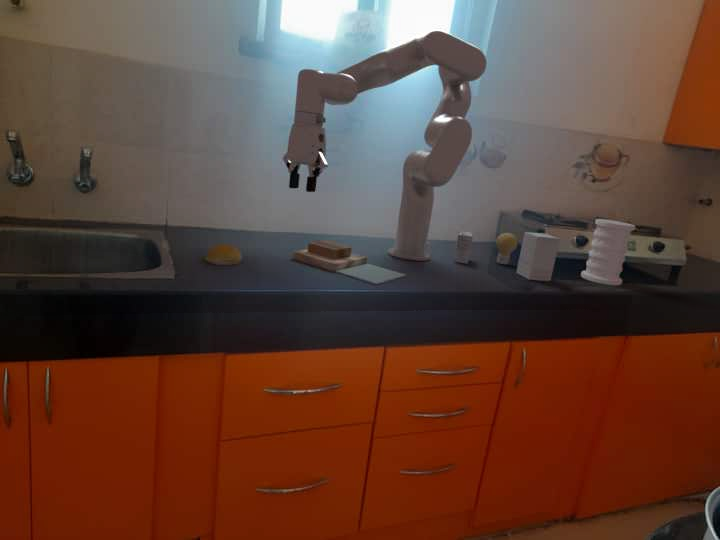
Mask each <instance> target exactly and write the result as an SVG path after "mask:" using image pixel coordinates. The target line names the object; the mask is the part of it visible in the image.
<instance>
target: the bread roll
mask: <svg viewBox="0 0 720 540" xmlns="http://www.w3.org/2000/svg"><path fill="white" fill-rule="evenodd" d="M204 258H205V261H206V262H207V263H209V264H213V265H217V266H233V265H235V266H236V265H238V264H240V263H241V262H242V259H243V254H242V253H241V251H240V250H239V249H238V248H237V247H235V246H234V245H232V244H228V243H220V244H217V245H215V246H213V247H212V248H211V249H209V250H208V251H207V252H206V254H205V255H204Z"/></svg>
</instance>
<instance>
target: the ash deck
mask: <svg viewBox="0 0 720 540" xmlns="http://www.w3.org/2000/svg"><path fill="white" fill-rule="evenodd" d="M367 259H368V257H366V256H363V255H360V254H355V253H352V252H351V256H350V257H345V258H340V259H335V260H334V259H331V258H327V257H324V256H320V255H317V254H314V253H310V252H308V248H307V249H300V250H294V251H292V260H295V261H299V262H301V263H305V264H307V265H311V266H314V267H316V268H317V267H318V268H321V269H324V270H327V271H330V272H334V273H336V271H338V270H342V269H347V268H351V267H355V266H360V265H364V264H367Z"/></svg>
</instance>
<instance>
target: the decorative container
mask: <svg viewBox="0 0 720 540" xmlns="http://www.w3.org/2000/svg"><path fill="white" fill-rule="evenodd" d="M594 224H595V225H596V227H595V229H594V231H593V239H592V241H591V243H590V245H591V249H590V250H589V252H588V256H589V257H588V260H586V265H585V266H586V267H585V270H582V271H581V273H580V277H582V279H584V280H587V281H591V282H594V283H598V284H602V285H609V286H621V285H622V284H623V279H622V278H621V277H620V274H621V273H622V272H623V263H624V262H625V260H626V257H625V256H626V255H625V254H626V253H627V251H628V250H629V246H628V244H629V242H630V241H631V238H632V237H631V232H632V231H635V229H636V225H635V224H632V223H627V222H625V221H624V222H623V221H619V220H614V219H613V220H612V219H606V218H605V219H603V218H596V219H595V221H594Z"/></svg>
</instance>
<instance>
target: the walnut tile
mask: <svg viewBox="0 0 720 540" xmlns="http://www.w3.org/2000/svg"><path fill="white" fill-rule="evenodd" d="M307 246H308V247H307V249H308V252H310V253H314V254H317V255H320V256H324V257H327V258H331V259H334V260H335V259H340V258H345V257H350V256H351V253H352V246H348V245H344V244H340V243H336V242H333V241H330V240H327V239H325V240H317V241H311V242H308V245H307Z"/></svg>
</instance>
